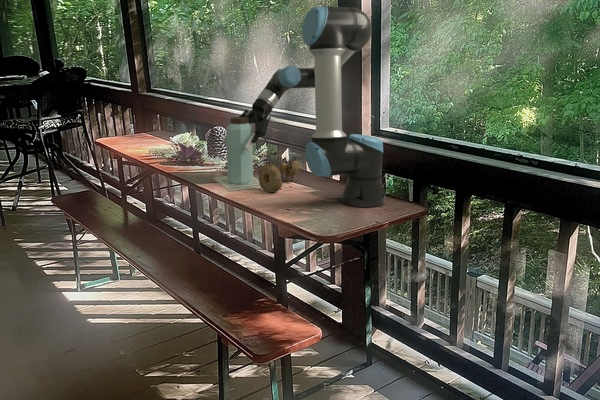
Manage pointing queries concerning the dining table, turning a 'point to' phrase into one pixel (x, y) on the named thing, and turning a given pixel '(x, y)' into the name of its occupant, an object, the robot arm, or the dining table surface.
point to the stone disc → (270, 178)
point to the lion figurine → (289, 170)
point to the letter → (234, 187)
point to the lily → (188, 152)
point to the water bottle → (239, 151)
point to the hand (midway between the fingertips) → (235, 146)
